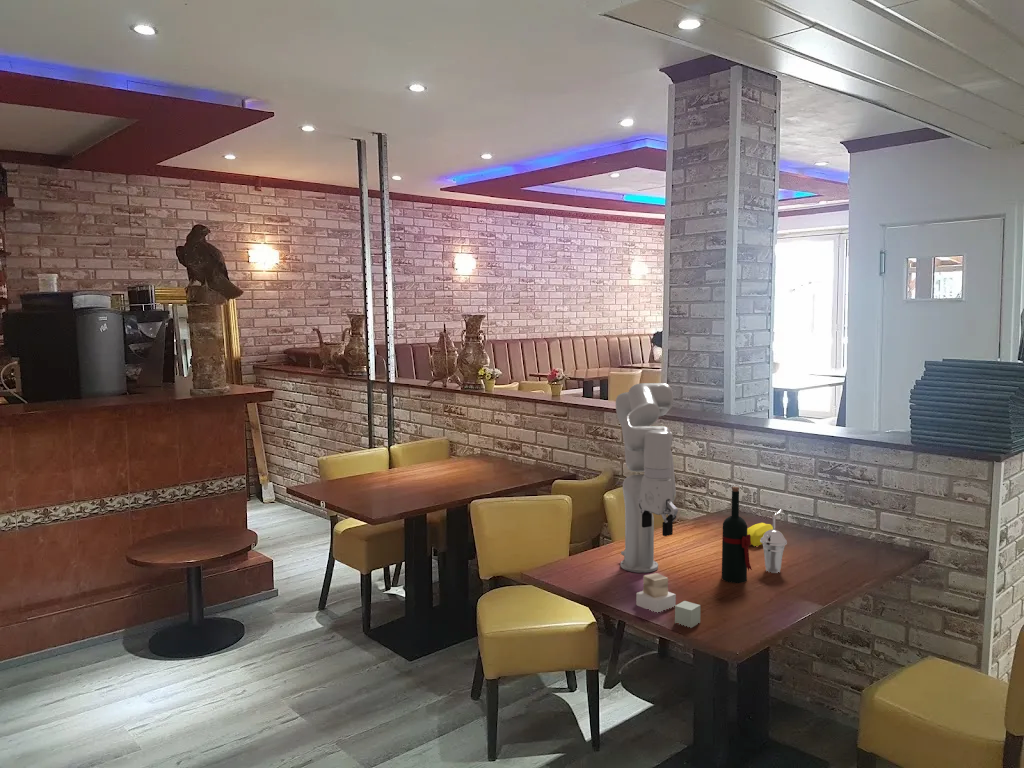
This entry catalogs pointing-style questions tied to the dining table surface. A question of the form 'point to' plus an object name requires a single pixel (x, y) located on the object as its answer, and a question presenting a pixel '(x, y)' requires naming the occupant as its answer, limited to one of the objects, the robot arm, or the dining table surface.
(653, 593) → the maple cube
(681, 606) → the sage cube
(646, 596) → the base block
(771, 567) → the cup with straw
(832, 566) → the dining table surface
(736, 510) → the wine bottle
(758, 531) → the yellow rounded lump
